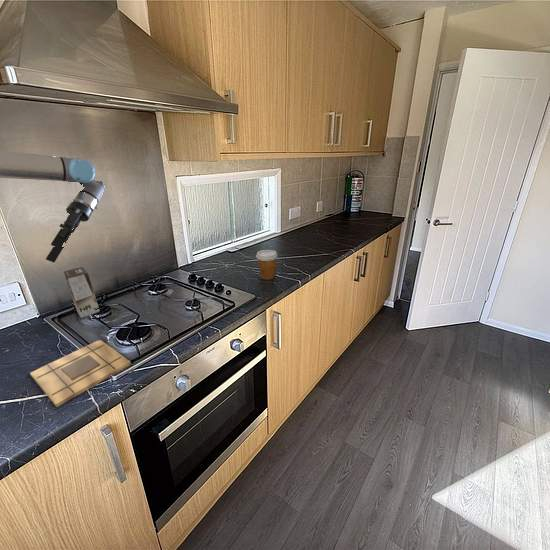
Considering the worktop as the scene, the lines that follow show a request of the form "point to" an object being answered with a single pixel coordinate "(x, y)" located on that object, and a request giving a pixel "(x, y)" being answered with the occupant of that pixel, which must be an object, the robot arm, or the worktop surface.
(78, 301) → the coffee box
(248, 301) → the worktop surface
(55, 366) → the game board
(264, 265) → the disposable coffee cup
